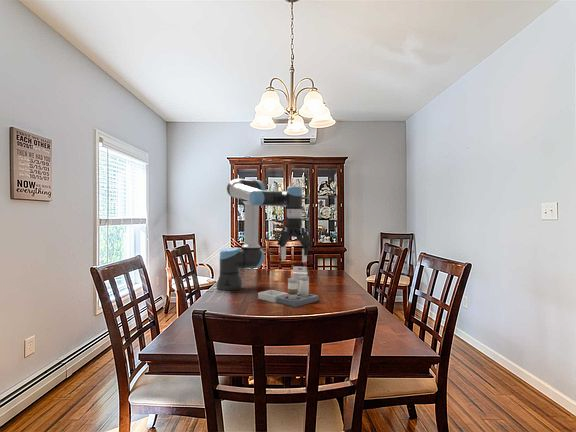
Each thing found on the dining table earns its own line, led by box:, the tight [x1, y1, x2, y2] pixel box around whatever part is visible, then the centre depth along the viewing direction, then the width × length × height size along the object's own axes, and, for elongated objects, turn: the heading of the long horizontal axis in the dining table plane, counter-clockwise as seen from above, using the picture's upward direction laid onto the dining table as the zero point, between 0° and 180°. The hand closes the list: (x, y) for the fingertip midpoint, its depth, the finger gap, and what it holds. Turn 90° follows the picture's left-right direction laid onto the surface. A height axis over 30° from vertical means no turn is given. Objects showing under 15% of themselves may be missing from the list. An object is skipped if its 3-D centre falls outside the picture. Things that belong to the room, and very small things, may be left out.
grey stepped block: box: [291, 265, 309, 293], centre depth 201 cm, size 9×5×15 cm, turn 84°
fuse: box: [300, 276, 310, 297], centre depth 185 cm, size 5×5×12 cm
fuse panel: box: [276, 292, 320, 308], centre depth 182 cm, size 12×18×3 cm, turn 138°
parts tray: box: [257, 289, 288, 303], centre depth 187 cm, size 12×10×3 cm
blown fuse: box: [287, 277, 298, 300], centre depth 178 cm, size 5×5×12 cm
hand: (293, 260), depth 179 cm, fingers open, 13 cm apart
